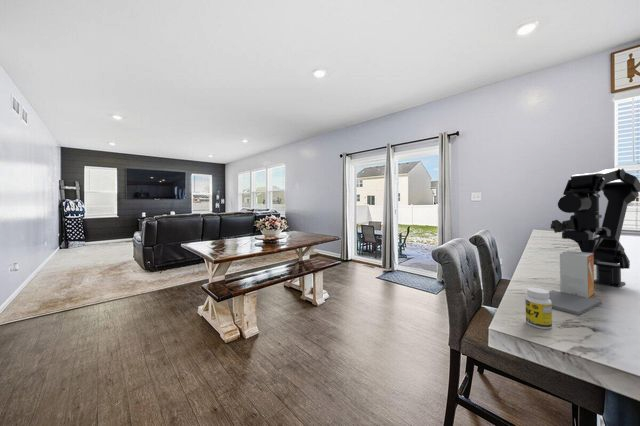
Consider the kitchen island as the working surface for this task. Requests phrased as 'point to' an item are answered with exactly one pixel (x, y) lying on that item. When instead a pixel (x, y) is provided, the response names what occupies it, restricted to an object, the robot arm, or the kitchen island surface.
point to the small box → (577, 273)
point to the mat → (572, 302)
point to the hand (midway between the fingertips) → (587, 259)
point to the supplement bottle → (538, 308)
